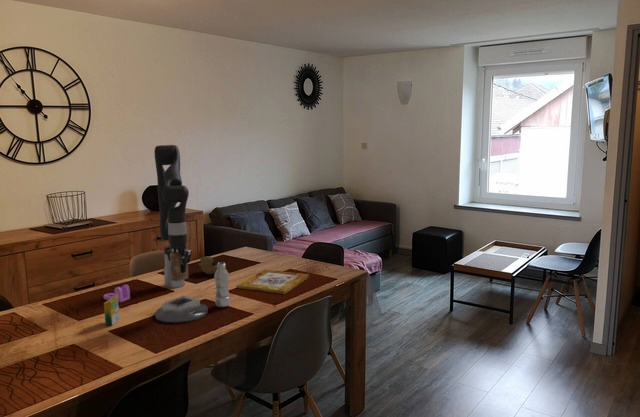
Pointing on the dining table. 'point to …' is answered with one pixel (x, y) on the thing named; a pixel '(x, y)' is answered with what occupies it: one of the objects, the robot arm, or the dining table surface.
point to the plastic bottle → (222, 286)
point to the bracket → (120, 293)
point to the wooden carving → (208, 265)
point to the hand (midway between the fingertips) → (179, 271)
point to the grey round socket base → (181, 310)
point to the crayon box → (111, 311)
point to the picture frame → (273, 281)
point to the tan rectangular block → (177, 267)
